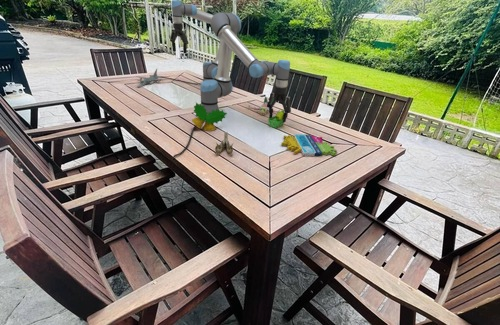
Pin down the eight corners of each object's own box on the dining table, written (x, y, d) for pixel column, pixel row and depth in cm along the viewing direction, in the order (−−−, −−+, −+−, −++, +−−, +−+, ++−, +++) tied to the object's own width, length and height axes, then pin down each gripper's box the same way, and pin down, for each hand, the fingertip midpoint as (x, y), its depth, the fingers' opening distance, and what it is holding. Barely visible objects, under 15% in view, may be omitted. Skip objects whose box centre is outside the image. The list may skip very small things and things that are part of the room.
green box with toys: (275, 122, 183) (277, 106, 177) (286, 125, 178) (288, 109, 173) (266, 126, 175) (268, 109, 169) (278, 129, 170) (280, 113, 165)
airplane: (130, 79, 264) (128, 69, 259) (162, 77, 277) (161, 68, 272) (135, 89, 236) (133, 78, 230) (170, 87, 249) (169, 76, 244)
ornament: (218, 133, 171) (224, 110, 169) (221, 134, 163) (227, 111, 161) (186, 125, 162) (192, 101, 160) (189, 126, 155) (195, 101, 153)
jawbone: (234, 135, 144) (233, 125, 135) (233, 160, 138) (232, 151, 129) (217, 135, 144) (216, 125, 135) (216, 160, 138) (214, 150, 129)
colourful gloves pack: (340, 153, 140) (285, 152, 138) (339, 156, 141) (285, 155, 138) (325, 134, 163) (277, 133, 160) (324, 137, 163) (277, 136, 161)
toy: (286, 98, 212) (281, 108, 186) (285, 107, 216) (280, 118, 190) (253, 94, 217) (244, 103, 191) (252, 103, 221) (243, 112, 195)
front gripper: (263, 83, 167) (260, 117, 178) (294, 91, 155) (289, 126, 166) (269, 82, 172) (266, 114, 183) (300, 89, 161) (294, 123, 172)
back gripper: (163, 22, 209) (166, 50, 219) (184, 24, 196) (186, 54, 207) (171, 22, 214) (173, 50, 225) (192, 24, 202) (193, 53, 212)
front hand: (277, 120), depth 175 cm, fingers open, 10 cm apart
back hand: (179, 52), depth 216 cm, fingers open, 13 cm apart
